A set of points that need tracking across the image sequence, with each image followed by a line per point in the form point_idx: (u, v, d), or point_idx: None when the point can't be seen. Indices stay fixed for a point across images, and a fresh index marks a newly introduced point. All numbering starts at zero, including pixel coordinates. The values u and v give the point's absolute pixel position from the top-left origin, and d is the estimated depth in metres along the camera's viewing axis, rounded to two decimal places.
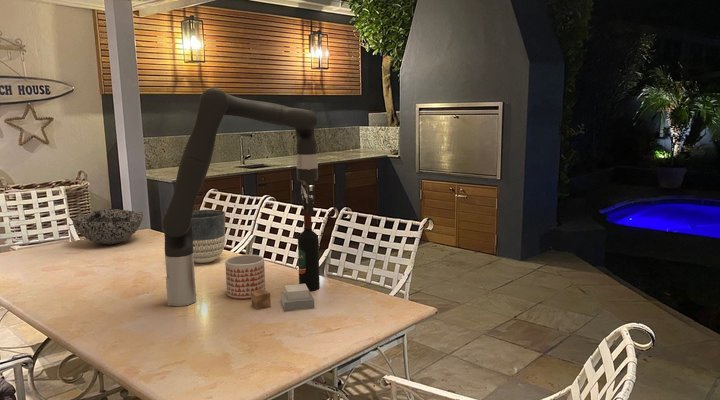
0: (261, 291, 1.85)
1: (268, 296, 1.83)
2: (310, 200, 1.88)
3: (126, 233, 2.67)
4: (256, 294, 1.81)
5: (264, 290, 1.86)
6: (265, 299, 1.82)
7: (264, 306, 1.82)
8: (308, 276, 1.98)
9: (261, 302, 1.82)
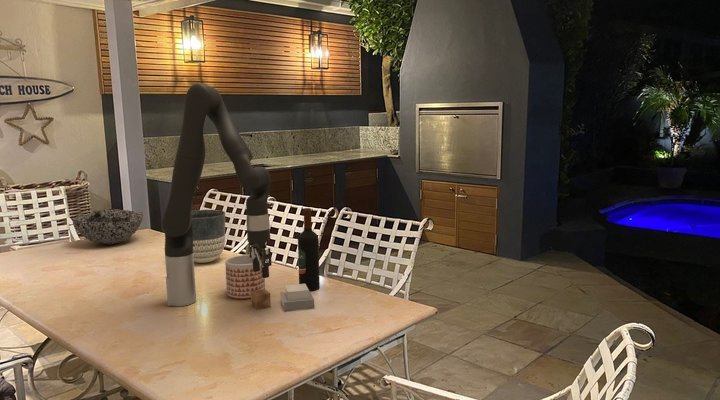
0: (261, 291, 1.85)
1: (268, 296, 1.83)
2: None
3: (126, 233, 2.67)
4: (256, 294, 1.81)
5: (264, 290, 1.86)
6: (265, 299, 1.82)
7: (264, 306, 1.82)
8: (308, 276, 1.98)
9: (261, 302, 1.82)
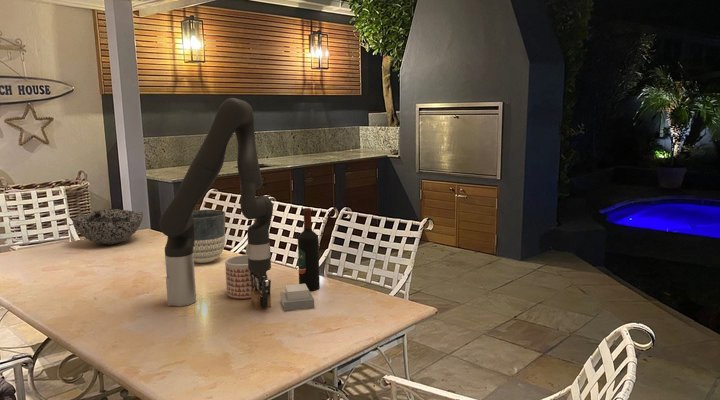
0: None
1: (268, 296, 1.83)
2: None
3: (126, 233, 2.67)
4: (256, 294, 1.81)
5: None
6: None
7: None
8: (308, 276, 1.98)
9: None
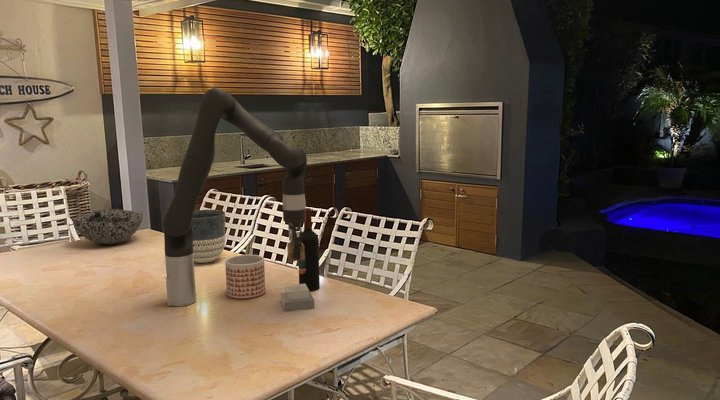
0: (296, 243, 1.83)
1: (302, 248, 1.80)
2: None
3: (126, 233, 2.67)
4: (289, 245, 1.80)
5: None
6: None
7: None
8: (308, 276, 1.98)
9: None
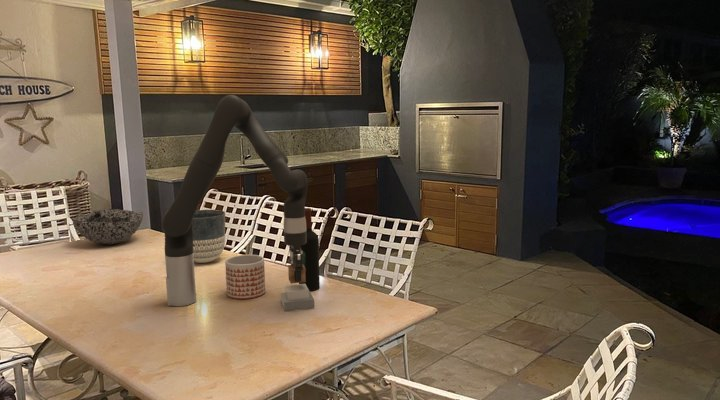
0: (297, 265, 1.85)
1: (303, 270, 1.82)
2: None
3: (126, 233, 2.67)
4: (290, 268, 1.82)
5: None
6: None
7: None
8: (308, 276, 1.98)
9: None
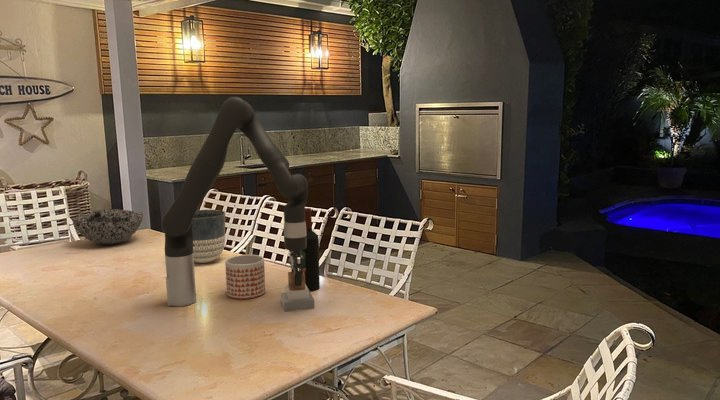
0: None
1: (303, 278, 1.82)
2: None
3: (126, 233, 2.67)
4: (290, 275, 1.82)
5: None
6: None
7: (298, 287, 1.82)
8: (308, 276, 1.98)
9: None
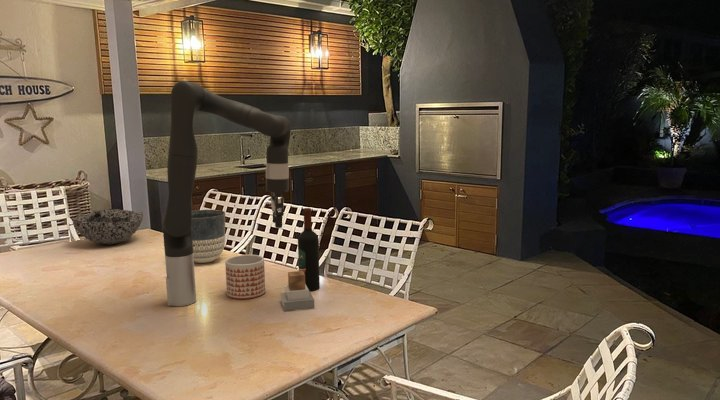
0: (297, 272, 1.85)
1: (303, 278, 1.82)
2: None
3: (126, 233, 2.67)
4: (290, 275, 1.82)
5: (301, 272, 1.85)
6: (299, 280, 1.82)
7: (298, 287, 1.82)
8: (308, 276, 1.98)
9: (295, 283, 1.82)
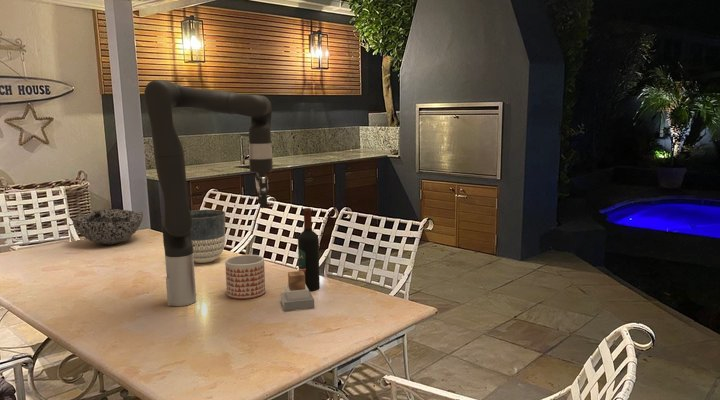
0: (297, 272, 1.85)
1: (303, 278, 1.82)
2: None
3: (126, 233, 2.67)
4: (290, 275, 1.82)
5: (301, 272, 1.85)
6: (299, 280, 1.82)
7: (298, 287, 1.82)
8: (308, 276, 1.98)
9: (295, 283, 1.82)
